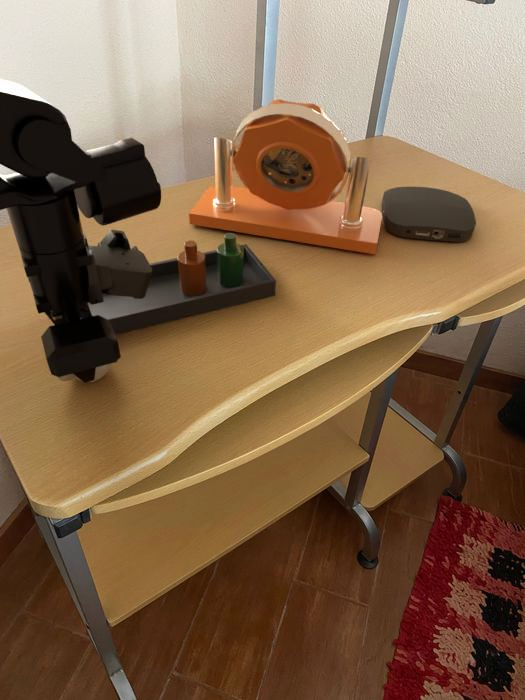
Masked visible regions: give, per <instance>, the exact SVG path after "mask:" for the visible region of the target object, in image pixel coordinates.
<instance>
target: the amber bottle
mask: <svg viewBox="0 0 525 700" xmlns="http://www.w3.org/2000/svg"><path fill="white" fill-rule="evenodd" d="M183 245H184V251H181V252H180V253H178V255H177V258H178V270H179V282H180V290H181V292H182V293H183V294H185V295H189V296H197V295H200V294H202V293H204V292H205V291H206V265H205V255H204V254H203V253H204V252H202V251H200V250H198V243H197V241H195V240H186V241H185V242H184V243H183Z"/></svg>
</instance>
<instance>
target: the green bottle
mask: <svg viewBox="0 0 525 700" xmlns="http://www.w3.org/2000/svg"><path fill="white" fill-rule="evenodd" d="M241 245H242V244H240V243H237V235H236V234H235V233H234V232H227V233H225V234H224V235H223V243H220V244H219V245H218V246H217V248H216V250H217V274H218V282H219V283H220V284H221V285H223V286H226V287H236V286H238V285H240V284H241V283H242V282H243V264H244V248H243V247H242V246H241Z"/></svg>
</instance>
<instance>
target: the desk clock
mask: <svg viewBox="0 0 525 700" xmlns="http://www.w3.org/2000/svg"><path fill="white" fill-rule="evenodd" d="M242 131H243V132H242ZM241 133H242V136H241V138H240V143H239V145H238V139H239V136H240V134H241ZM347 140H348V139H347V138H346V137H345V134H344V131H343V130H342V129H341V128H339V126H337V125H336V124H335V123H334V122H333V120H331V119H330V118H329V116H328V115H327V114H326V113H325V111H323V109H322V108H321V106H319V105H317V104H315V103H312V102H311V103H308V102H307V103H303V102H296V101H295V102H294V101H293V102H292V101H288V100H283V99H280V98H279V99H275V100H274V99H273V100H271V102H270V103H269V104H268V105H265V106H261V107H259V108H258V109H256V110H252V111H251V113H249V114H248V115H247V116H246V117H244V118H243V120H242V121H241V122H240V124H239V125H238V127H237V130H236V131H235V135H234V138H233V141H232V140H229V139H226V138H222V137H214V138H213V142H214V143H213V144H214V145H213V146H214V147H213V148H214V180H215V181H214V184H215V185H212V186H210V187H208V188H207V189H206V191H204V193H203V194H202V196H201V197H200V198H199V199H198V201H197V202H196V203H195V205H194V206H193V207H192V209H191V210H190V211H189V212H188V220H189V225H193V226H201V227H204V228H211V229H218V230H224V231H229V232H236V233H240V234H241V233H242V234H249V235H254V236H261V237H265V238H266V237H267V238H273V239H278V240H285V241H291V242H296V243H303V244H308V245H315V246H320V247H321V246H322V247H328V248H333V249H341V250H345V251H346V250H347V251H351V252H359V253H364V254H371V255H376V251H377V246H378V241H379V236H380V232H381V231H380V230H381V224H382V221H383V216H382V211H380V210H378V209H375V208H373V207H369V206H366V205H364V200H365V196H366V191H367V185H368V178H369V173H370V167H371V162H372V160H371V159H370V158H367V157H362V156H352V155H351V148H350V147H349V144H348V141H347ZM233 170H234V172H235V174H236V176H237V178H238V179H239V180H240V182H241V184H242V185H243V186H244V187H241V186H236V185H235V186H233ZM347 180H348V182H347ZM346 183H347V189H346V195H345V201H344V202H341V201H335V200H334V199H336V198H337V197H338V196H339V194H341V193H342V191H343V189H344V187H345V185H346Z"/></svg>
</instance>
